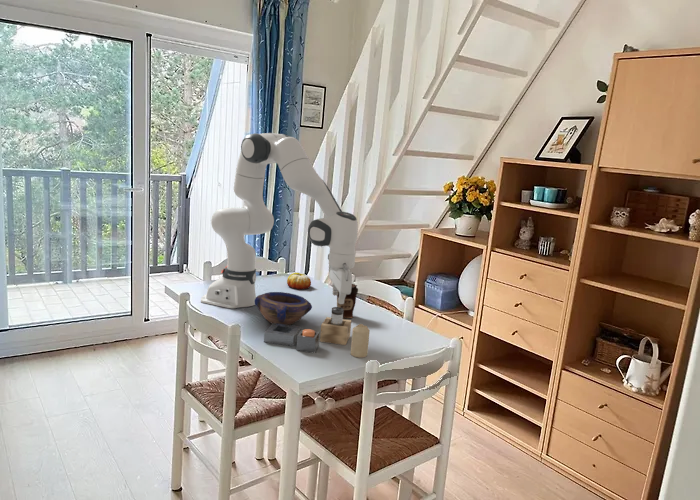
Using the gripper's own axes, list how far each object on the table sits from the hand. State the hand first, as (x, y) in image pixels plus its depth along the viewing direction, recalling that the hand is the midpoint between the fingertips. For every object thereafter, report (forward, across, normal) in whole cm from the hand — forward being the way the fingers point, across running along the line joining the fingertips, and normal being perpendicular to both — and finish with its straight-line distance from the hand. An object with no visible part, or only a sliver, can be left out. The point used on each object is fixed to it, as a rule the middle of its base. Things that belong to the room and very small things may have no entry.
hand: (337, 299), depth 183 cm
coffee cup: (+15, +24, -9) cm, 29 cm away
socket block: (+14, -1, +18) cm, 23 cm away
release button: (+13, -9, +11) cm, 19 cm away
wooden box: (+14, -1, 0) cm, 14 cm away
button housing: (+14, -9, +11) cm, 20 cm away
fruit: (+16, +66, +3) cm, 68 cm away
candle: (+14, -15, -5) cm, 21 cm away
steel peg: (+14, -1, 0) cm, 14 cm away
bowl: (+15, +17, +16) cm, 28 cm away
